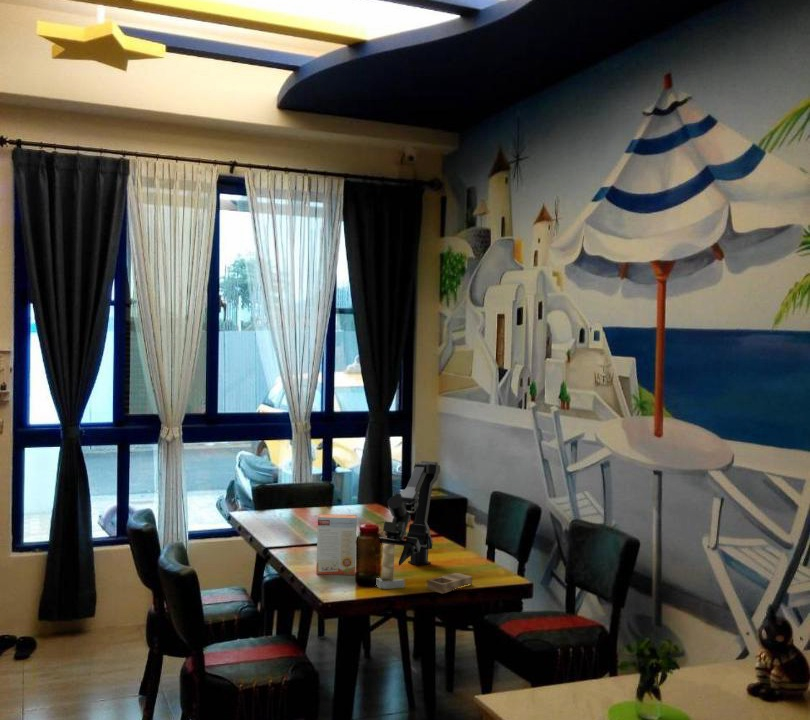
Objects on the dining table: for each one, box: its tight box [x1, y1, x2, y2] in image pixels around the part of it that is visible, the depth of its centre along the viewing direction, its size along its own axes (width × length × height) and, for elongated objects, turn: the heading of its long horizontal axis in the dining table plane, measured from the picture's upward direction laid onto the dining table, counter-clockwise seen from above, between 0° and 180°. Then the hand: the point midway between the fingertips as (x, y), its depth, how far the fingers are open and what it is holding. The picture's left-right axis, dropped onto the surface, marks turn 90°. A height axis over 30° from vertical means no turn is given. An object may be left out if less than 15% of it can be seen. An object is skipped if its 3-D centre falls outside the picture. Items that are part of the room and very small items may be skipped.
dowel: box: [381, 543, 396, 581], centre depth 297 cm, size 4×4×14 cm
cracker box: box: [315, 513, 358, 576], centre depth 310 cm, size 14×6×21 cm, turn 92°
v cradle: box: [375, 577, 406, 590], centre depth 296 cm, size 7×12×2 cm, turn 70°
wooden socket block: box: [426, 572, 473, 594], centre depth 298 cm, size 16×7×3 cm, turn 137°
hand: (386, 563), depth 296 cm, fingers open, 9 cm apart
